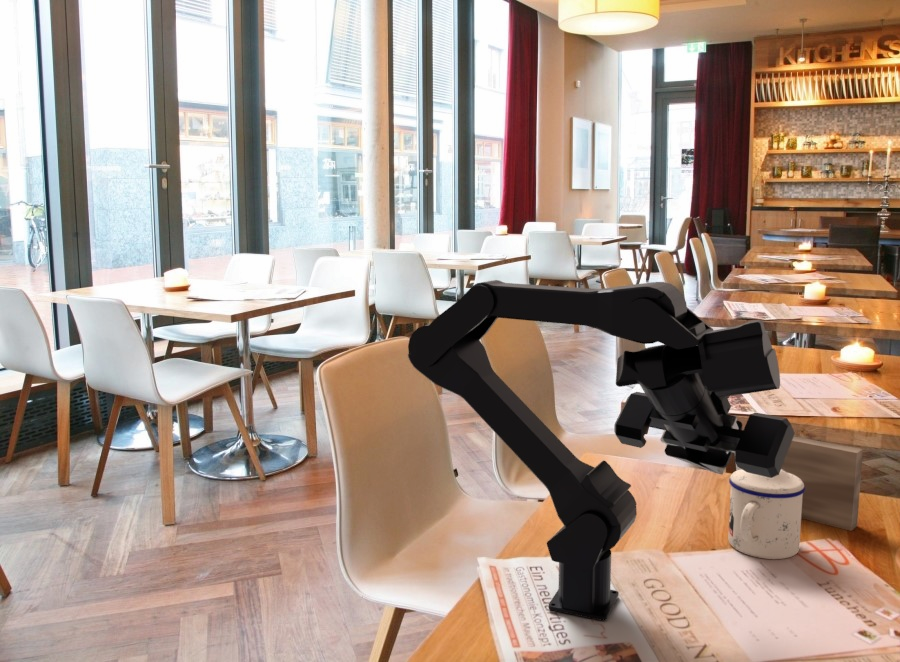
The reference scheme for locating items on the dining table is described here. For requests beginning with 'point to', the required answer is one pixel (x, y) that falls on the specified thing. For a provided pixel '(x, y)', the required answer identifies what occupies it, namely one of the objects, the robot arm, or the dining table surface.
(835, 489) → the bookend
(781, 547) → the teacup with lid
